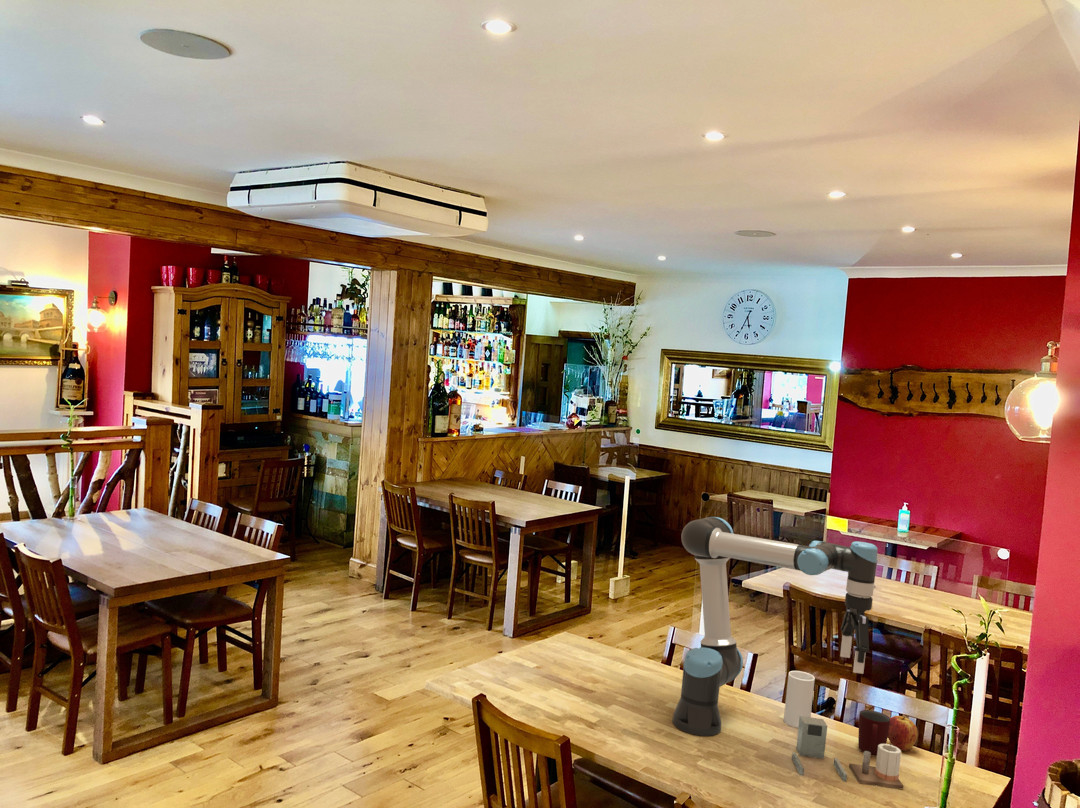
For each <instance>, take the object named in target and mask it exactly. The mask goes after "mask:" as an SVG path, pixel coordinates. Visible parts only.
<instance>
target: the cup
mask: <svg viewBox="0 0 1080 808" xmlns="http://www.w3.org/2000/svg"><path fill="white" fill-rule="evenodd" d="M815 681H816V678H815V676H814V675H813V674H811V673H808V672H805V671H802V670H791V671H789V672H788V676H787V685H786V693H785V694H786V695H785V704H784V714H783V722H784V723H785V724H786V725H788V726H789V727H792V728H795V729H798V727H799V718H800V716H803V717H811V716H812V710H813V709H812V707H813V706H812V705H813V699H814V689H815ZM811 718H812V717H811Z"/></svg>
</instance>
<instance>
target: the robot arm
mask: <svg viewBox="0 0 1080 808" xmlns="http://www.w3.org/2000/svg"><path fill="white" fill-rule="evenodd" d="M680 536H681V543H682V546H683V547H684V549H685V550H686V551H687V552H688V553H690V554H691V555H693V556H694V560H695V561H696V562H697V563H698V564H699V572H700V586H701V587H700V588H701V589H700V590H701V600H702V614H703V615H702V617H703V630H704V636H703V638H702V639H701V640H700V647H694V648H691V649H689V650H688V651H687V652H686V654H685V656H684V660H683V671H682V680H681V691H680V692H681V693H680V697H679V701H678V703H677V705H676V707H675V709H674V712H673V714H672V724H673V725H674V727H676V728H677V729H678V730H680V731H682V732H685V733H688V734H691V735H694V736H700V737H701V736H703V737H706V736H707V737H709V736H710V737H711V736H716V735H718V734H719V733H721V731H722V719H721V715H720V710H719V705H718V704H719V695H720V688H721V687H722V686H724V685H726V684H727V683H730V682H732V681H734V680H735V679H736V678H737V677H738V676H739V675H740V674H741V672H742V669H743V666H744V659H743V654H742V653H741V651H740V650H739V649H738V647H737V640H736V639H735V638H734V637H733V636H732V629H731V617H730V615H731V613H730V605H729V604H730V603H729V588H728V587H729V586H728V576H727V574H728V573H727V563H728V561H730V559H734V560H740V561H745V562H751V563H755V564H761V565H767V566H773V567H777V568H778V567H779V568H785V569H790V570H795V571H799V572H802V573H804V574H805V575H807V576H819V575H821V574H823V573H825V572H827V571H829V570H835V571H841V572H847V579H846V587H845V591H846V593H845V598H844V605H845V606H846V607H845V613H844V616H843V619H842V623H841V626H840V631H841V634H842V637H841V644H840V655H839V657H840V658H848V659H850V658H851V651H852V650H851V649H852V642H853V637H854V634H855V643H856V644H855V645H856V647H855V648H854V652H855V654H854V658H853V659H854V662H853V667H852V668H853V670H852V672H853V673H854V674H862V675H863V674H864V670H865V661H866V655H867V654H866V653H869V652H870V639H869V638H870V637H869V635H870V634H869V633H870V632H869V620H870V617H869V616H866V615H865V612H867V611H868V612H869V611H871V610H872V609H873V608H872V607H873V597H872V596H873V595H874V589H876V585H875V579H876V572H877V566H878V565H877V564H878V547H877V545H875V544H874V543H869V542H865V541H859V540H858V541H853V542H851V544H850V546H846V545H841V544H836V543H830V542H826V541H825V540H822V541H820V540H812V541H811V542H810V543H809V545H804V544H803V545H801V544H797V543H792V542H785V541H778V540H772V539H769V538H761V537H755V536H749V535H743V534H738V533H737V534H736V533H734V530H733V528H732V525H730V523H729V522H728V521H726V520H725V519H723V518H722V517H718V516H717V517H716V516H708V517H707V516H706V517H704V518H700V519H695V520H691V521H689V522H688V523H687V524H686V525H685V526H684V527H683V529H682V531H681V535H680Z"/></svg>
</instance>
